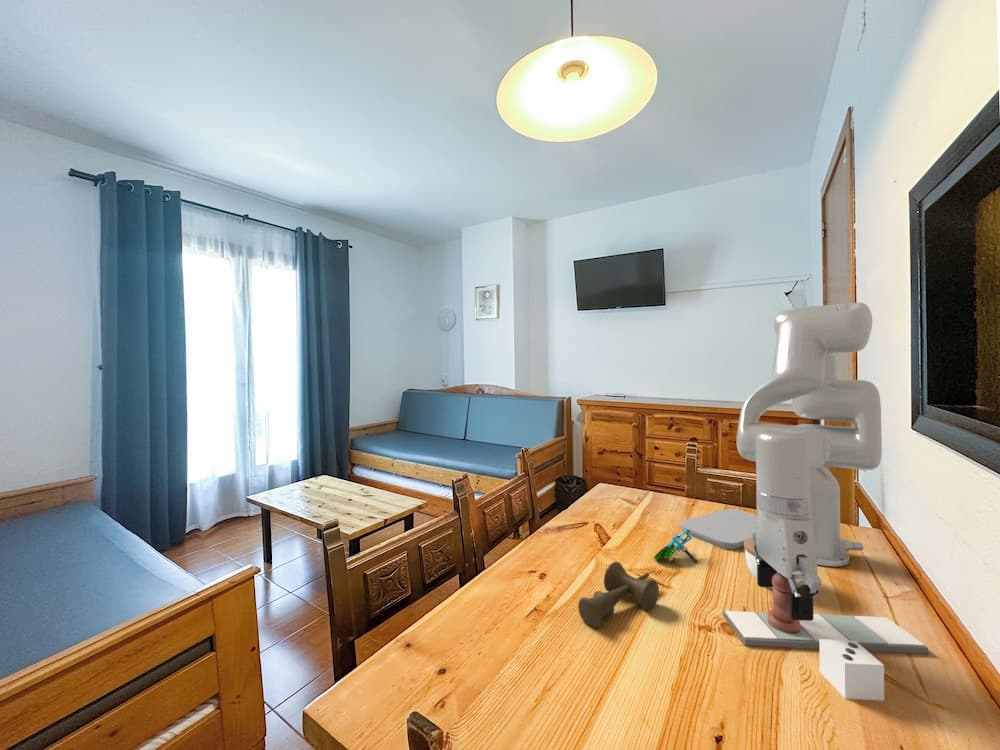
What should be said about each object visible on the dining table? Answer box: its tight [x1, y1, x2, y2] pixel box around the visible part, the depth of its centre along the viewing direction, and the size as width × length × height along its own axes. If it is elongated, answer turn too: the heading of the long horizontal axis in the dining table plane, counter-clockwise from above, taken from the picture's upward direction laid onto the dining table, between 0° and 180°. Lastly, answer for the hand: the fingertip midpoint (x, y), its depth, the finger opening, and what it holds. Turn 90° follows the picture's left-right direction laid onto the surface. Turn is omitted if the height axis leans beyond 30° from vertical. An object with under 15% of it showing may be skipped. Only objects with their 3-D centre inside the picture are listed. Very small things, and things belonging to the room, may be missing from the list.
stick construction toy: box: [653, 529, 699, 565], centre depth 96 cm, size 12×7×8 cm
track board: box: [722, 610, 929, 655], centre depth 69 cm, size 28×8×1 cm, turn 84°
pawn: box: [767, 573, 800, 634], centre depth 69 cm, size 5×5×9 cm
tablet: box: [679, 508, 757, 550], centre depth 113 cm, size 16×26×2 cm, turn 118°
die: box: [818, 639, 885, 702], centre depth 58 cm, size 5×5×5 cm
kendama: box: [578, 561, 660, 629], centre depth 78 cm, size 6×10×20 cm
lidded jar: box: [743, 537, 802, 590], centre depth 85 cm, size 11×11×9 cm
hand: (783, 601), depth 69 cm, fingers open, 9 cm apart
